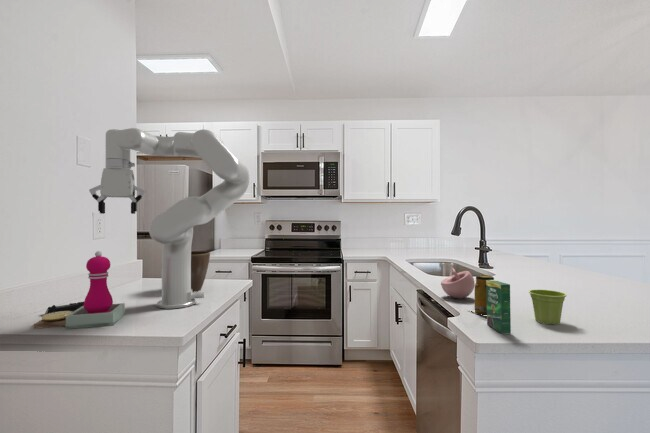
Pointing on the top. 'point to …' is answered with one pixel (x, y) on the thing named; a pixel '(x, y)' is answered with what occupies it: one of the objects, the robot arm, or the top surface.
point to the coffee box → (498, 306)
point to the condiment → (481, 294)
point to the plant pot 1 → (198, 268)
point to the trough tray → (94, 317)
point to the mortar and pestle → (458, 284)
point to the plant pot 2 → (547, 305)
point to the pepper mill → (98, 285)
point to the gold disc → (56, 316)
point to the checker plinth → (50, 323)
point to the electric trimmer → (64, 307)
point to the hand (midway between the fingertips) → (117, 213)
